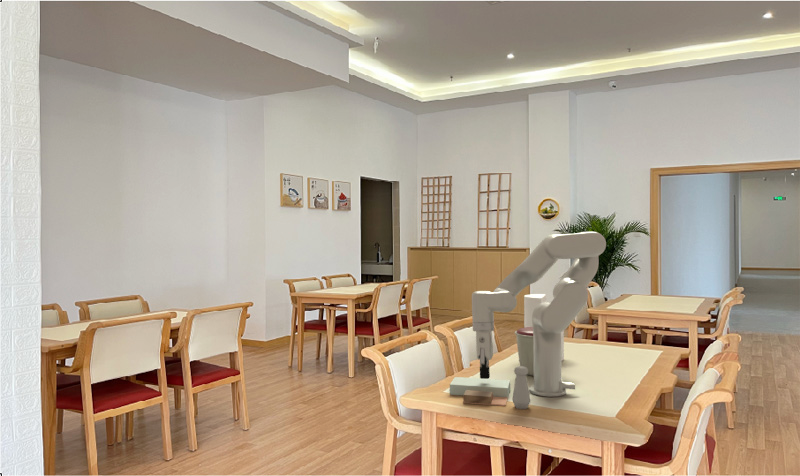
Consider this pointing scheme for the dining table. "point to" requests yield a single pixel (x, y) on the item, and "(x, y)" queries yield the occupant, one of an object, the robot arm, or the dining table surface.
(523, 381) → the salt shaker
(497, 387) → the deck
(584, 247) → the robot arm
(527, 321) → the white tall block
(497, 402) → the mat
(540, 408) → the dining table surface
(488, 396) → the brown wooden block
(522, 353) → the canister
